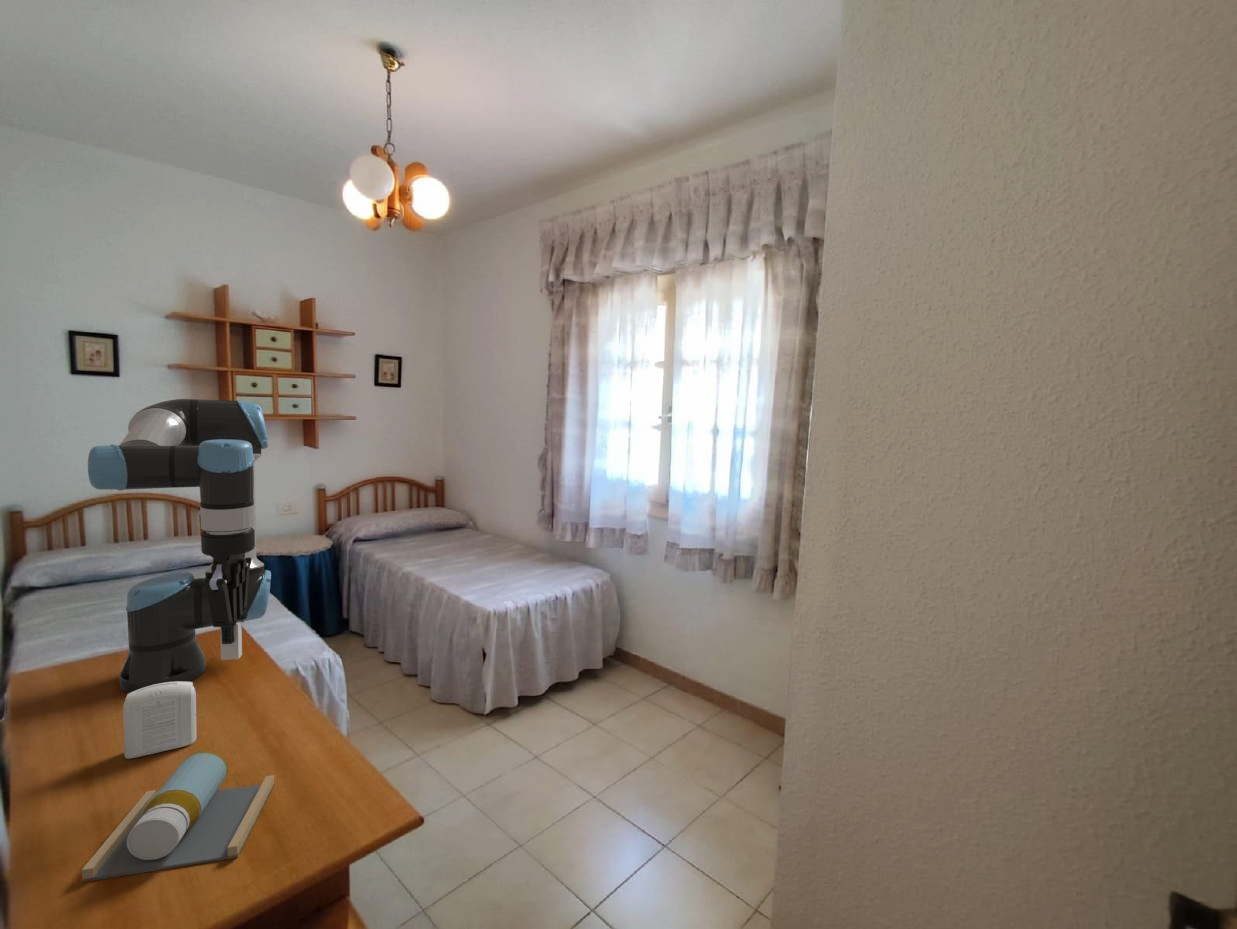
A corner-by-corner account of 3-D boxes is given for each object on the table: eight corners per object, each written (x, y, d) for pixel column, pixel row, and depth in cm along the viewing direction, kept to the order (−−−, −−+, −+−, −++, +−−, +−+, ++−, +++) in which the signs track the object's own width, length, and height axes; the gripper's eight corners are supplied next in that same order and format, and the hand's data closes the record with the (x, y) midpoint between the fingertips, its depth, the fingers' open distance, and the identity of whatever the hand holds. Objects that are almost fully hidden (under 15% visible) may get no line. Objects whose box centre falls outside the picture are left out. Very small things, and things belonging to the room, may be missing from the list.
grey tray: (147, 801, 85) (146, 791, 85) (274, 785, 90) (274, 775, 90) (82, 882, 71) (81, 869, 71) (237, 857, 76) (237, 846, 76)
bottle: (175, 784, 87) (115, 860, 73) (188, 745, 87) (131, 813, 73) (222, 790, 89) (173, 865, 75) (235, 752, 89) (189, 819, 75)
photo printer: (198, 733, 103) (196, 672, 102) (195, 745, 99) (193, 683, 98) (127, 749, 97) (124, 686, 96) (122, 763, 94) (118, 697, 92)
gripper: (220, 520, 97) (223, 642, 100) (183, 539, 84) (188, 678, 87) (266, 520, 99) (268, 639, 102) (237, 539, 86) (240, 674, 89)
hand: (231, 657), depth 94 cm, fingers closed
